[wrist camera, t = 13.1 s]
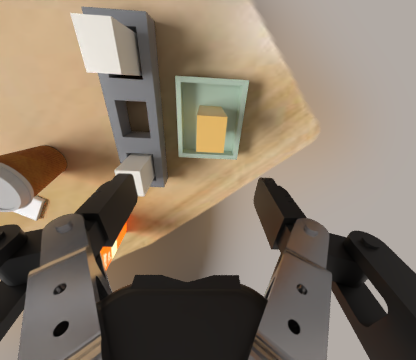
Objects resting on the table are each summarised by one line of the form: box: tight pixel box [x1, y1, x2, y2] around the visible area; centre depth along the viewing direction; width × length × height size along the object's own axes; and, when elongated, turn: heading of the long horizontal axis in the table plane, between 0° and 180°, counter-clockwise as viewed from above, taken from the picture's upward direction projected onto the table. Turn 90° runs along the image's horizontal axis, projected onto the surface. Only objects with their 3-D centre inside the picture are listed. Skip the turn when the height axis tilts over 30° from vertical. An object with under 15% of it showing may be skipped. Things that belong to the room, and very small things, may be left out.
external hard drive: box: [13, 196, 45, 221], centre depth 41 cm, size 2×8×12 cm
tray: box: [175, 76, 249, 160], centre depth 30 cm, size 14×12×3 cm
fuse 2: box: [114, 153, 156, 196], centre depth 31 cm, size 5×4×10 cm
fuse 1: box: [70, 13, 142, 76], centre depth 22 cm, size 5×4×10 cm
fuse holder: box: [82, 7, 168, 187], centre depth 29 cm, size 27×8×4 cm, turn 177°
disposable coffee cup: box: [0, 146, 67, 212], centre depth 30 cm, size 10×10×12 cm
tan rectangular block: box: [196, 105, 228, 153], centre depth 27 cm, size 5×4×10 cm
